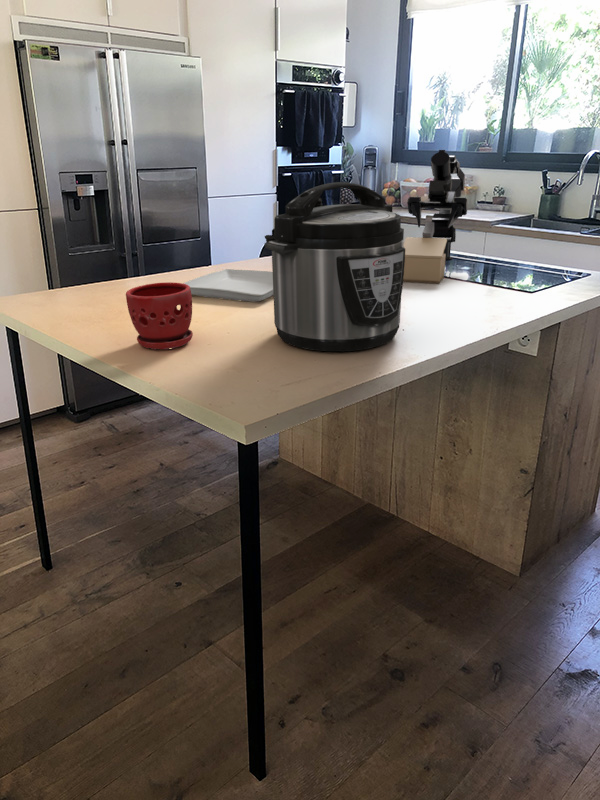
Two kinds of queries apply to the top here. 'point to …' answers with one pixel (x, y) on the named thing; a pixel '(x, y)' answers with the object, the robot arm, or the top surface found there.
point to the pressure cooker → (337, 271)
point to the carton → (424, 270)
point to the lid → (425, 244)
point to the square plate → (234, 285)
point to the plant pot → (161, 314)
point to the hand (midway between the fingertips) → (433, 227)
